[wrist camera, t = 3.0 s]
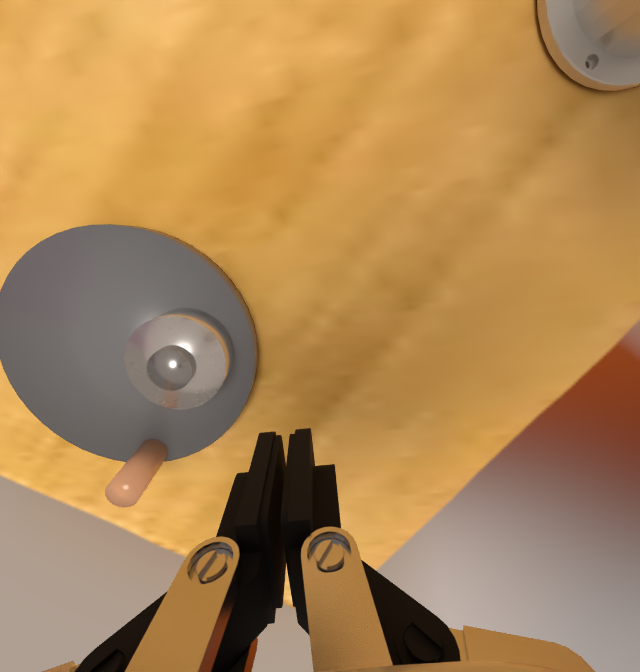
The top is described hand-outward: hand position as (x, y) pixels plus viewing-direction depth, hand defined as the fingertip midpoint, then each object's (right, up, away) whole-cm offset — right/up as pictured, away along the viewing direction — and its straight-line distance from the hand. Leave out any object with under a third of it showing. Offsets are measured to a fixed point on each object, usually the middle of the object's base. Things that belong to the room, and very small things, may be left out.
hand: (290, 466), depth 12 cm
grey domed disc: (-14, +4, +16) cm, 22 cm away
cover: (-9, +3, +14) cm, 17 cm away
